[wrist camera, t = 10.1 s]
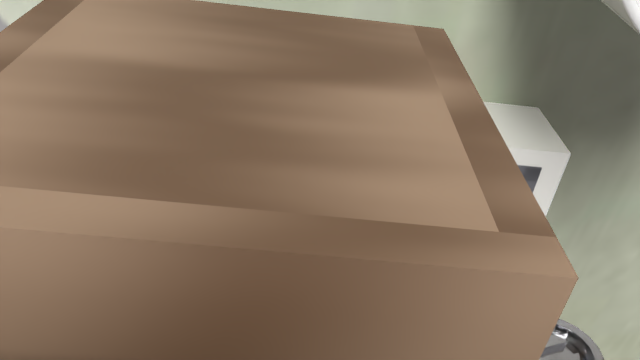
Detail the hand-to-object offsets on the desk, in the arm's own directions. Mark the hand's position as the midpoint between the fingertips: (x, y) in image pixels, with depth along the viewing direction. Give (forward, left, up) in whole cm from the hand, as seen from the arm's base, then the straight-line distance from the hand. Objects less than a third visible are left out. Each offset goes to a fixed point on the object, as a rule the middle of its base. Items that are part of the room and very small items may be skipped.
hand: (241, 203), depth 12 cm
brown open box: (0, 0, -1) cm, 1 cm away
